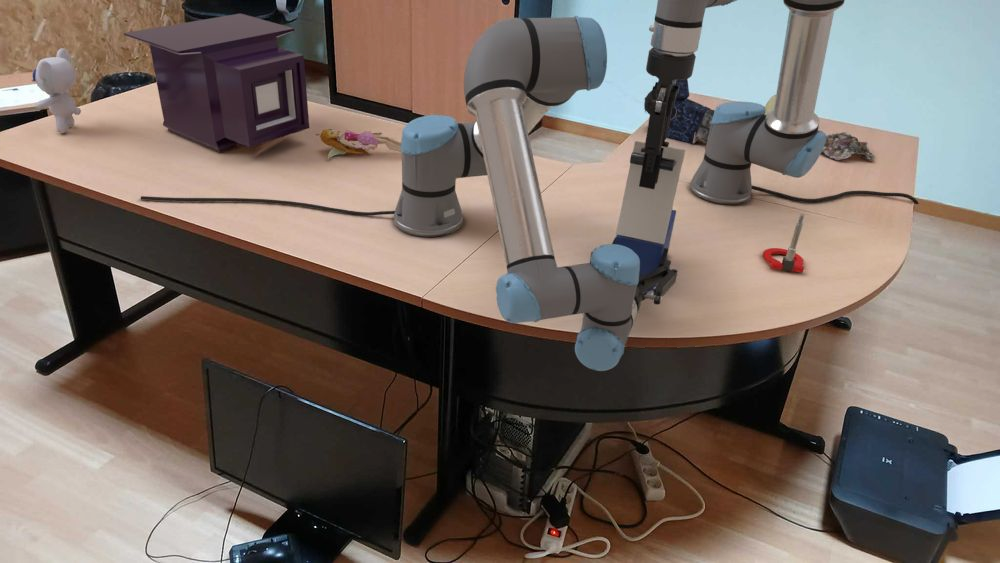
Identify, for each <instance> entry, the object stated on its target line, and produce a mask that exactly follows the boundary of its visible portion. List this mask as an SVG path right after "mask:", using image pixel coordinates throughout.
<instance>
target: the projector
mask: <svg viewBox="0 0 1000 563" xmlns="http://www.w3.org/2000/svg"><path fill="white" fill-rule="evenodd" d="M294 31H295V28H294V27H292V26H287V25H283V24H279V23H276V22H272V21H269V20H264V19H262V18H259V17H256V16H255V17H254V16H252V15H247V14H244V13H235V14H230V15H224V16H217V17H212V18H205V19H200V20H194V21H188V22H181V23H175V24H169V25H163V26H157V27H151V28H146V29H145V28H144V29H139V30H134V31H128V32H123V36H125V37H127V38H130V39H133V40H136V41H138V42H142V43H145V44H148V45H149V50H150V54H151V60H152V66H153V71H154V75H155V76H154V77H155V82H156V87H157V92H158V97H159V102H160V107H161V113H162V118H163V122H162V126H163V127H165V128H166V129H167V131H168V132H170V133H172V134H175V135H177V136H179V137H182V138H184V139H187V140H189V141H191V142H193V143H196V144H197V145H200V146H203V147H205V148H207V149H209V150H212V151H215V152H217V153H219V154H220V153H224V152H227V151H229V150H233V149H235V148H237V144H240V145H242V146H245V147H247V148H249V149H250V148H253V147H256V146H259V145H262V144H266V143H269V142H271V141H275V140H278V139H281V138H285V137H287V136H289V135H293V134H296V133H300V132H302V131H305V130H308V129H310V118H309V105H308V94H307V93H308V92H307V80H306V79H307V78H306V68H305V56H304V54H303V53H302V54H301V53H297V52H296V51H295V52H294V51H291V50H288V49H285V48H282V47H279V44H278V40H277V38H280V37H282V36H286V35H287V34H291V33H292V32H294Z"/></svg>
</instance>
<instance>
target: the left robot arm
mask: <svg viewBox="0 0 1000 563" xmlns="http://www.w3.org/2000/svg"><path fill="white" fill-rule="evenodd" d="M607 64H608V49H607V42H606V37H605V34H604V31H603V28H602V27H601V24H600V23H599V22H598V21H597V20H595V19H594V18H592V17H587V16H586V17H585V16H584V17H583V16H578V15H574V16H568V17H525V18H523V17H522V18H521V17H510V18H504V19H501V20H499V21H497V22H495V23H494V24H492V25H490V26H489V27H488V28H487V29H485V30H484V31H483V33H482V34H481V35H480V36H479V37H478V39H477V40H476V41H475V43H474V44H473V46H472V48H471V50H470V52H469V55H468V58H467V60H466V64H465V69H464V75H463V94H464V95H463V96H464V101H465V105H466V110H467V112H468V113H469V114H470V115H472V116H474V117H475V121H473V122H459V123H458V122H457V120H456V119H455V118H454V117H453V116H450V115H446V114H444V115H440V114H429V115H424V116H420V117H417V118H414V119H412V120H411V121H409V122H408V123H407V124H405V126H403V129H402V132H401V142H402V143H401V151H402V153H401V192H400V195H399V197H398V200H397V203H396V206H395V209H394V210H381V211H369V212H368V211H355V210H348V209H344V208H337V207H330V206H324V205H318V204H314V203H313V204H312V203H305V202H300V201H299V202H298V201H290V200H280V199H267V198H244V197H169V196H168V197H165V196H164V197H163V196H146V195H141V196H140V200H146V201H164V202H166V201H168V202H242V203H243V202H245V203H246V202H247V203H268V204H281V205H290V206H298V207H306V208H313V209H318V210H324V211H330V212H335V213H342V214H349V215H356V216H367V217H368V216H381V215H393V220H394V221H393V222H394V225H395V226H396V228H398V229H399V230H400V231H402V232H404V233H406V234H408V235H411V236H417V237H422V238H423V237H424V238H436V237H437V238H438V237H443V236H447V235H451V234H453V233H455V232H456V231H458V230H460V228H461V227H462V226H463V219H464V218H463V210H462V207H461V204H460V201H459V198H458V195H457V192H456V182H457V179H464V178H474V177H484V176H487V179H488V185H489V189H490V193H491V198H492V203H493V208H494V213H495V217H496V224H497V227H498V232H499V237H500V241H501V246H502V252H503V256H504V261H505V265H506V271H507V273H506V274H503V275H500V277H499V278H498V279H497V281H496V285H495V292H496V293H495V294H496V297H495V298H496V304H497V309H498V311H499V313H500V315H501V317H502V318H503V320H504V321H506V322H507V323H509V324H520V323H531V322H533V323H537V322H540V321H544V320H549V319H550V320H551V319H555V318H562V317H567V316H575V315H581V314H583V315H582V316H583V317H582V324H581V328H580V331H579V332H578V334H577V336H576V341H575V344H574V354H575V356H576V358H577V359H578V361H579V362H580V364H582V365H583V366H584V367H586V368H588V369H590V370H593V371H598V372H605V371H608V370H611V369H613V368H614V367H616V366H618V364H619V362H620V360H621V358H622V356H623V355H624V353H625V348H626V345H627V342H628V339H629V336H630V334H631V331H632V329H633V325H634V323H635V321H636V318H637V315H638V314H639V310H640V307H641V304H642V302H643V301H645V300H646V299H648V300H652V301H653V304H655V305H660V304H661V301H662V297H664V296H665V294H666V293H667V292H668V291H669V290H670V289H671V288H673V286H674V285H675V284H676V280H677V277H678V272H679V271H678V269H676V268H672V269H671V268H670V267H671V264H672V263H671V260H669V259H667V258H668V254H669V250H668V249H667V248H665V249H664V252H663V255H662V257H661V260H660V263H659V267H658V268H657V269H655V270H654V271H652V272H650V273H648V274H646V275H644V276H643V275H640V276H639V271H640V260H639V257H638V255H637V254H636V253H634V251H633V250H631V249H630V248H627V247H625V246H622V245H617V244H615V240H616V236H615V237H614V239H613V241H612V243H605V244H602V245H600V246H597V247H596V248H594V250H593V251H591V252H590V258H589V262H587V263H579V264H571V265H565V266H558V265H557V260H556V258H555V252H554V248H553V242H552V237H551V234H550V228H549V224H548V219H547V215H546V210H545V206H544V201H543V196H542V192H541V187H540V182H539V178H538V173H537V169H536V164H535V159H534V155H533V150H532V146H531V140H530V135H529V134H530V132H532V130H533V129H534V128H535V127H536V125H538V123H539V122H540V121H541V120H542V119H543V118H544V116H545V115H546V114H547V113H548V112H549V110H551V108H553V107H558V106H562V105H564V104H565V103H567V102H568V101H569V100H571V98H572V97H573V96H574V95H575V94H576V93H577V92H578V91H584V90H585V91H587V92H590V91H591V90H597V89H598V88H600V87H601V85H602V84H603V82H604V80H605V77H606V74H607V67H608V66H607ZM656 284H657V286H656V287H653V289H652V290H651V291H647V290H646V289H648V288H650V287H652V286H654V285H656Z"/></svg>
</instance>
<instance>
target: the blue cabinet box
mask: <svg viewBox="0 0 1000 563" xmlns="http://www.w3.org/2000/svg"><path fill="white" fill-rule="evenodd" d="M676 216H677V210H675V209H672V212H671V216H670V221H669V225H668V230H667V234H666V239H665V243H664V244H660V243H655V242H650V241H646V240H641V239H636V238H632V237H627V236H622V235H618V234H616V236H615V237H616V240H615V244H617V245H622V246H625V247H627V248H630V249H631V250H633V251H634V253H636V254H637V255H638V257H639V260H640V271H639V276H640V275H643V276H644V275H646V274H648V273H650V272H652V271H654V270H655V269H657V268H658V267H659V263H660V260H661V257H662V255H663V252H664V249H665V248H667V249H668V251H669V248H670V245H671V244H670V243H671V240H672V236H673V235H672V234H673V229H674V225H675V220H676ZM656 286H657V284H656V285H654V286H652V287H650V288H648V289H646V290H647V291H651V290H652V289H653V287H656Z"/></svg>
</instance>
